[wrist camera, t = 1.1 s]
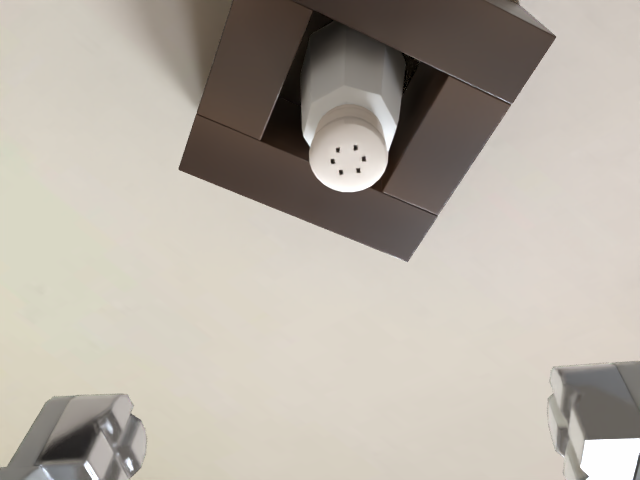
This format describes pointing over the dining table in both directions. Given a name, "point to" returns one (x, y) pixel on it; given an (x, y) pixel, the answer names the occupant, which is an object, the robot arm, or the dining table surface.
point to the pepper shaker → (349, 105)
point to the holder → (414, 119)
